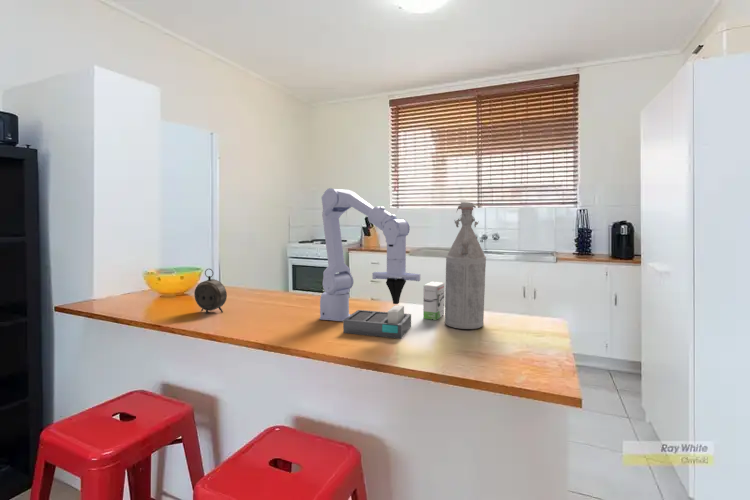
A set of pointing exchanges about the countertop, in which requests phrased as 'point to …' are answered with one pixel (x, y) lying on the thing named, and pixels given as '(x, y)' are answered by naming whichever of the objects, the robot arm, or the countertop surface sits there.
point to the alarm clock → (210, 294)
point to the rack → (375, 324)
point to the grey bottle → (465, 276)
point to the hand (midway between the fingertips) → (396, 303)
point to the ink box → (433, 300)
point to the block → (396, 314)
